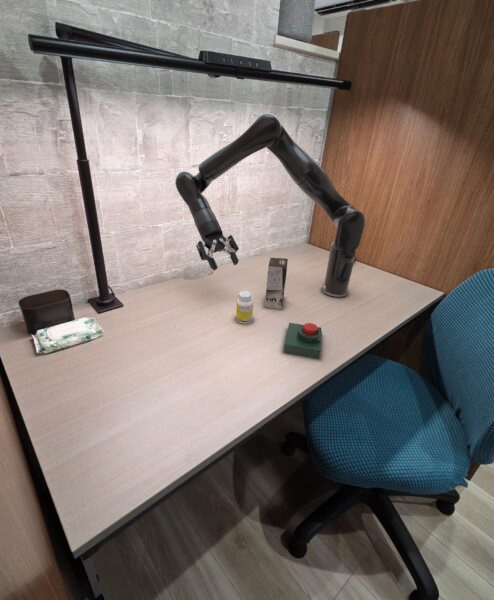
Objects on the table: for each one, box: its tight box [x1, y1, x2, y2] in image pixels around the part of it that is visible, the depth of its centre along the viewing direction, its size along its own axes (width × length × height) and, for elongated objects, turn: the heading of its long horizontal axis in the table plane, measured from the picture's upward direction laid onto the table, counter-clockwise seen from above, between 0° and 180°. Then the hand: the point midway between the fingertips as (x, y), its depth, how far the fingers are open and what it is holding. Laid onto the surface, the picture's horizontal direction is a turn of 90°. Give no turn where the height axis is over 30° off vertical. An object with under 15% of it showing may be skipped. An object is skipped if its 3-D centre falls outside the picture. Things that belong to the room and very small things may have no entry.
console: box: [283, 322, 323, 360], centre depth 94 cm, size 12×10×5 cm
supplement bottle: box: [235, 290, 254, 324], centre depth 104 cm, size 5×5×10 cm
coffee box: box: [264, 257, 289, 310], centre depth 113 cm, size 9×6×16 cm
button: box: [303, 322, 319, 335], centre depth 92 cm, size 4×4×2 cm
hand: (226, 266), depth 106 cm, fingers open, 8 cm apart
